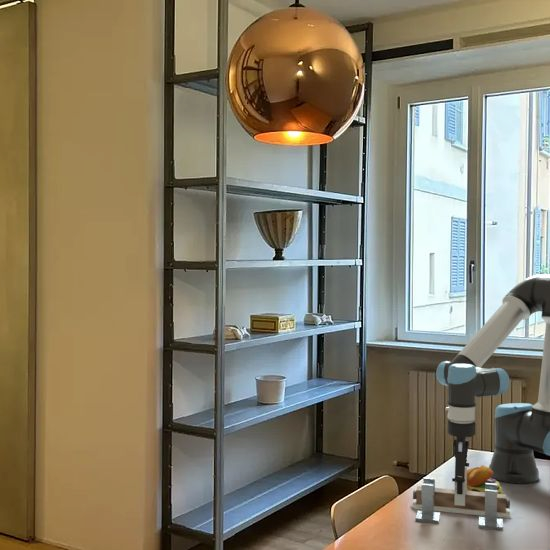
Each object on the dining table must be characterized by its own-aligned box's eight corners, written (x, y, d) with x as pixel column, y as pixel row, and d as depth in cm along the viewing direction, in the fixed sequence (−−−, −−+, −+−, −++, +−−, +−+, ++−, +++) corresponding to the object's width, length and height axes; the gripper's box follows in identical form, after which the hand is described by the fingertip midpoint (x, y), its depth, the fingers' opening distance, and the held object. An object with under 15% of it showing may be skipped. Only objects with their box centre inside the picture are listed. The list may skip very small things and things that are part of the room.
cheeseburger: (506, 503, 205) (497, 469, 205) (468, 510, 207) (460, 476, 207) (502, 491, 215) (494, 458, 215) (466, 497, 217) (458, 465, 217)
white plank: (509, 509, 201) (509, 507, 201) (510, 518, 194) (510, 516, 194) (414, 500, 209) (414, 497, 209) (411, 508, 202) (411, 506, 202)
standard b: (502, 521, 192) (503, 484, 192) (502, 530, 186) (503, 492, 185) (479, 519, 194) (479, 482, 193) (478, 528, 187) (478, 489, 187)
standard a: (440, 515, 197) (440, 478, 196) (438, 523, 190) (438, 486, 190) (417, 512, 198) (418, 476, 198) (415, 521, 192) (415, 484, 192)
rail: (509, 509, 200) (509, 494, 199) (509, 513, 196) (510, 498, 196) (413, 499, 207) (414, 485, 207) (412, 503, 204) (412, 489, 204)
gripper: (450, 410, 213) (449, 482, 214) (444, 429, 190) (444, 510, 191) (476, 411, 211) (475, 484, 212) (474, 431, 188) (473, 513, 189)
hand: (460, 497), depth 201 cm, fingers open, 12 cm apart
